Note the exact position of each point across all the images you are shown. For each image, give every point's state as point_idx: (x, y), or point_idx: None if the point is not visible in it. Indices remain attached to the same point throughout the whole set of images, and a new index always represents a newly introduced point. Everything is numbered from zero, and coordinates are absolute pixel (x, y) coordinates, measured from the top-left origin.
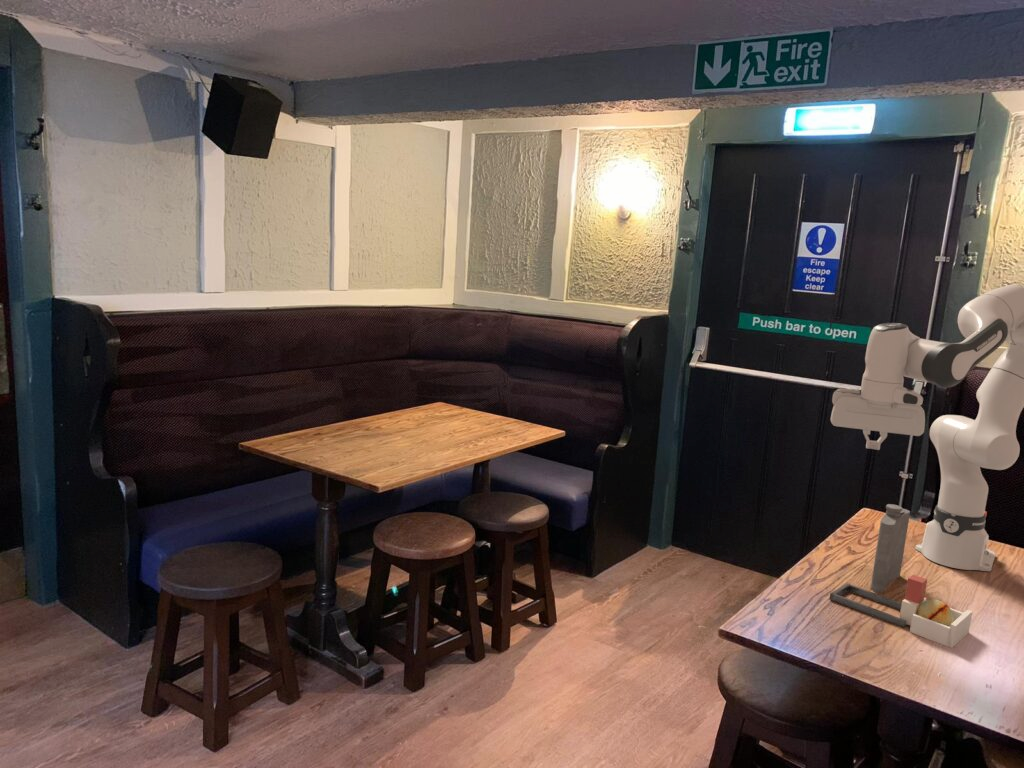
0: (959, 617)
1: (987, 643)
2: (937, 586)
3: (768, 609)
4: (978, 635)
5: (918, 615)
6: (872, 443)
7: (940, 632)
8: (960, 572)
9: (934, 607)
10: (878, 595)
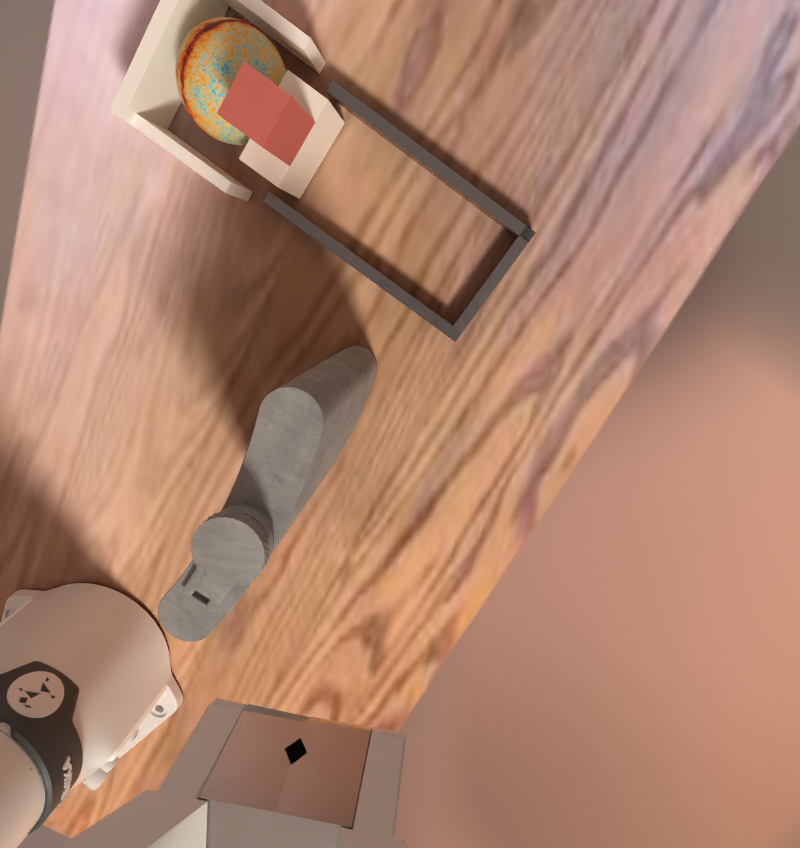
0: (160, 33)
1: (114, 68)
2: (174, 447)
3: (780, 67)
4: None
5: None
6: (308, 791)
7: None
8: (93, 566)
9: (230, 32)
10: (373, 272)
